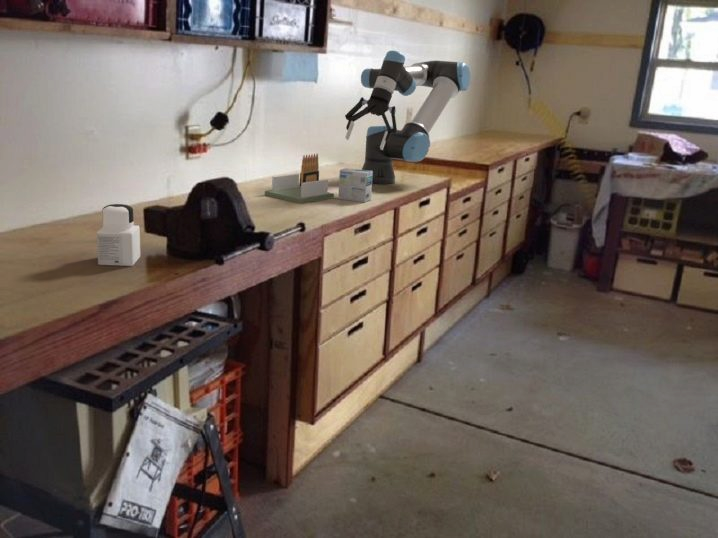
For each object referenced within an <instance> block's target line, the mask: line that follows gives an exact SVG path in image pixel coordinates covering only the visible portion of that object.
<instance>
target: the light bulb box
mask: <svg viewBox="0 0 718 538" xmlns="http://www.w3.org/2000/svg"><path fill="white" fill-rule="evenodd" d="M372 174H373V171H368V170H362V169H357V168H349V167H345V168H341V169H339V175H338V176H339V177H338V178H339V179H338V180H339V181H338V197H337V199H338V200H345V201H351V202H357V203H359V202H360V203H367V202H369V201H371V200H372V187H373V186H372V185H373V183H372Z"/></svg>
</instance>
